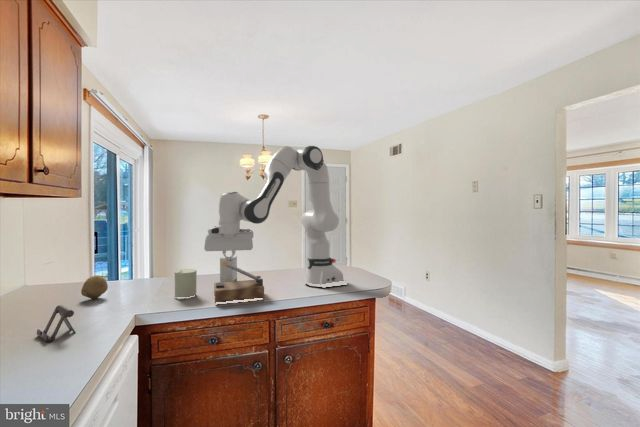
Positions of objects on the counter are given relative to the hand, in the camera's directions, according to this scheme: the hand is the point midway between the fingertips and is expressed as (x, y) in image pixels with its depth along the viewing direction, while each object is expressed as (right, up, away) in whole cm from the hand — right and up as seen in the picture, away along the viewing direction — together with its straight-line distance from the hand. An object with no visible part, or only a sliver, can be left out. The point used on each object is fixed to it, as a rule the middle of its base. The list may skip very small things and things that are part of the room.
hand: (228, 260), depth 135 cm
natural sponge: (-57, -16, -1) cm, 59 cm away
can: (-20, -17, +4) cm, 27 cm away
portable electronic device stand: (-42, -18, -39) cm, 60 cm away
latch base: (+4, -17, +2) cm, 17 cm away
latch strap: (+5, -6, +2) cm, 8 cm away
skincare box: (-6, -17, +19) cm, 26 cm away
